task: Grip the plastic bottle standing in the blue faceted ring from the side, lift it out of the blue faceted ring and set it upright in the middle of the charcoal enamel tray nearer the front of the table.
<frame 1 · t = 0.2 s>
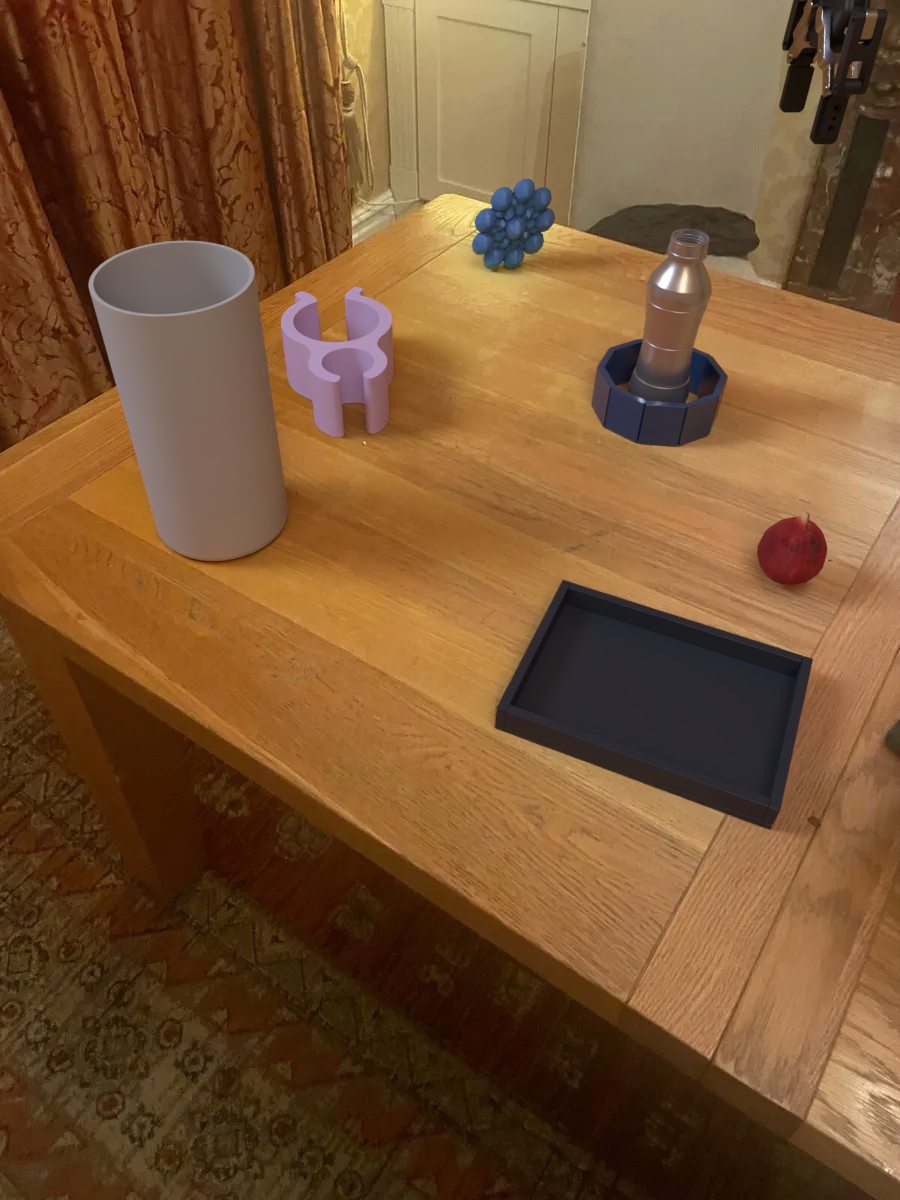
hand: (805, 126, 82), 30 cm above the table, tool pointing down, fingers open, 8 cm apart
cylinder vase: (224, 522, 88), on the table
blue faceted ring: (654, 409, 103), on the table
clip: (343, 387, 105), on the table
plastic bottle: (653, 411, 103), resting in blue faceted ring
tray: (653, 702, 74), on the table
onion: (779, 582, 84), on the table
grapes: (508, 266, 127), on the table
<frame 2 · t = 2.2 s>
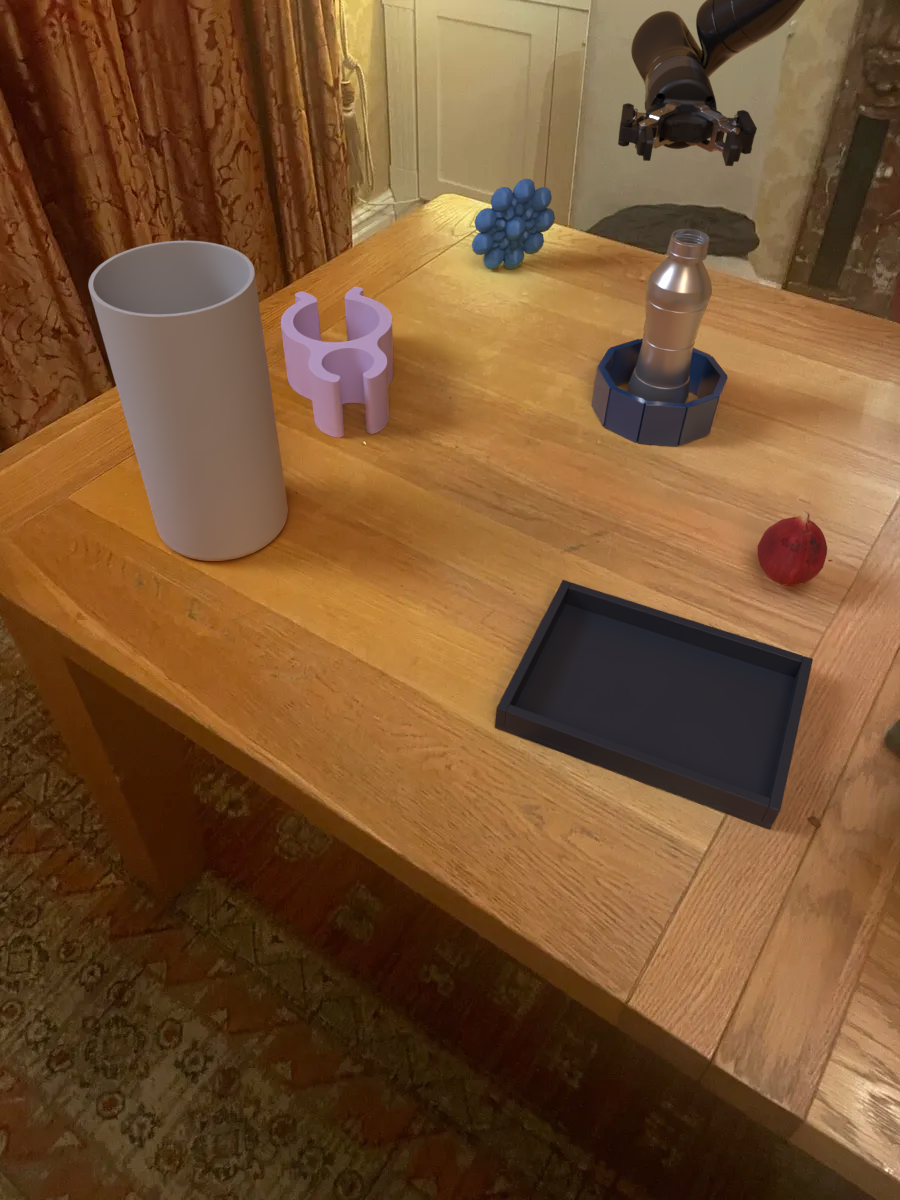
hand: (690, 153, 94), 24 cm above the table, tool horizontal, fingers open, 8 cm apart
nothing on the table moved.
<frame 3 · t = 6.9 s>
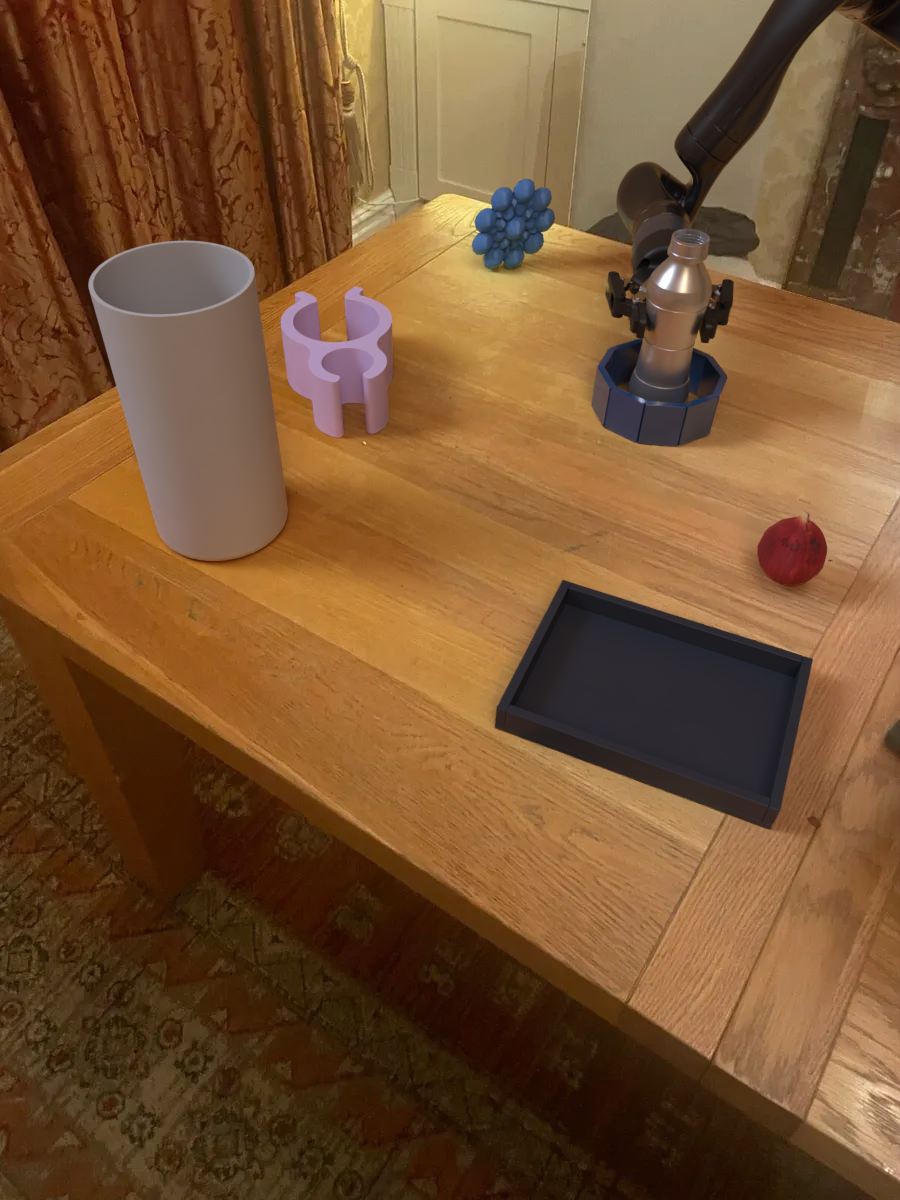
hand: (674, 332, 93), 11 cm above the table, tool horizontal, fingers closed on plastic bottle, 6 cm apart
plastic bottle: (653, 411, 103), resting in blue faceted ring, touching gripper
everything else where it was.
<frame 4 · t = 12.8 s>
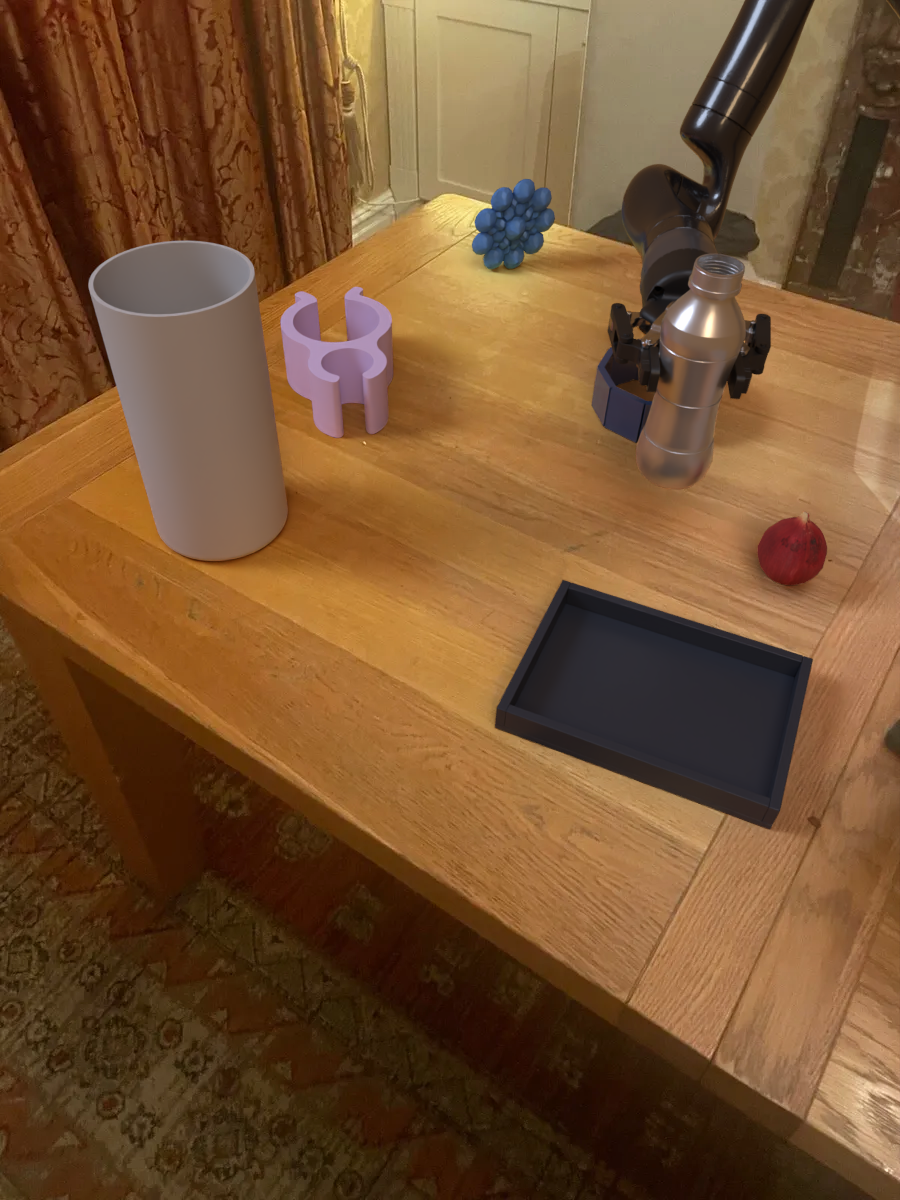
hand: (696, 385, 72), 19 cm above the table, tool horizontal, fingers closed on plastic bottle, 6 cm apart
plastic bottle: (667, 477, 82), point 7 cm above the table, touching gripper
everything else where it was.
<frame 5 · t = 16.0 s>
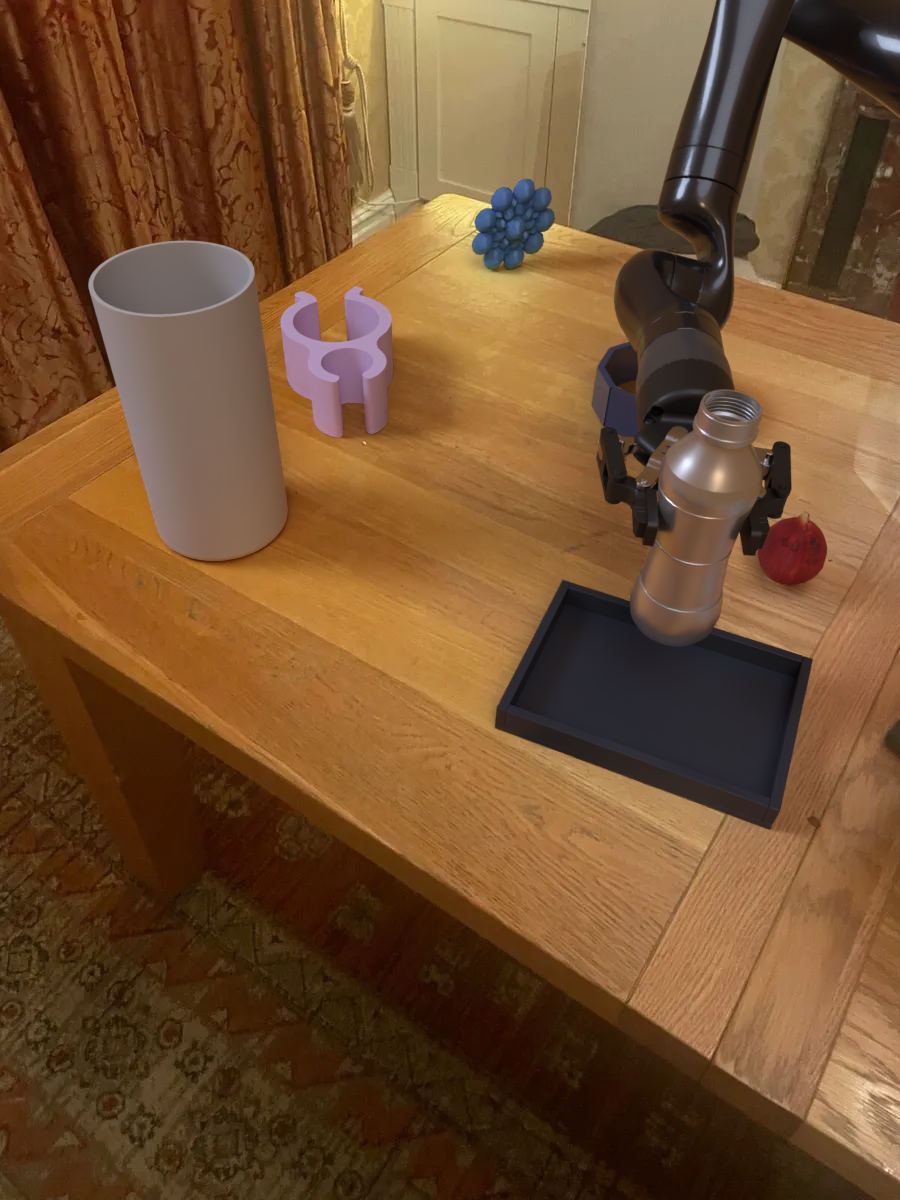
hand: (702, 541, 60), 18 cm above the table, tool horizontal, fingers closed on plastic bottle, 6 cm apart
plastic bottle: (667, 627, 70), point 7 cm above the table, touching gripper
everything else where it was.
when the fingers open (12 cm above the table, at t = 18.5 s): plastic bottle stays where it is, resting on tray.
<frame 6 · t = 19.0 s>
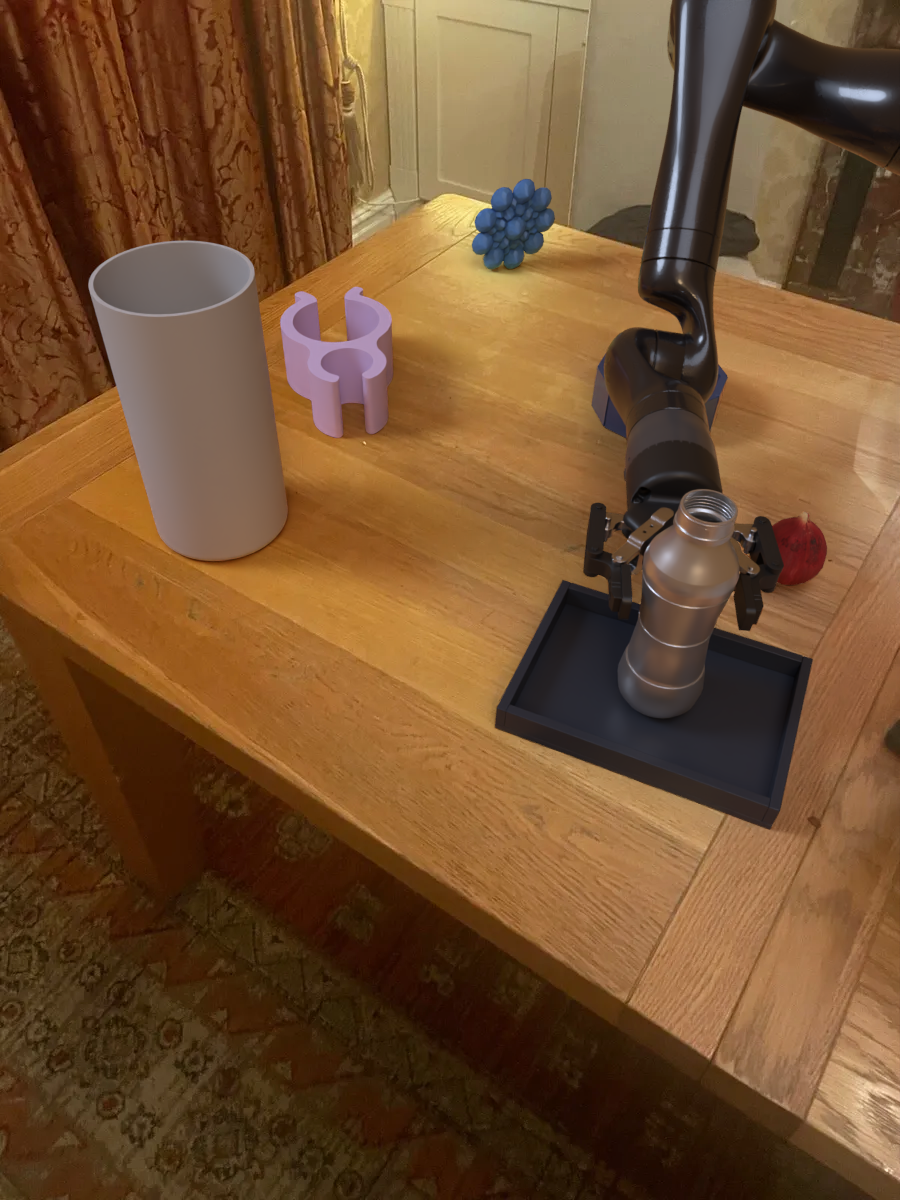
hand: (686, 617, 64), 12 cm above the table, tool horizontal, fingers open, 8 cm apart
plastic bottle: (653, 698, 73), resting on tray
everything else where it was.
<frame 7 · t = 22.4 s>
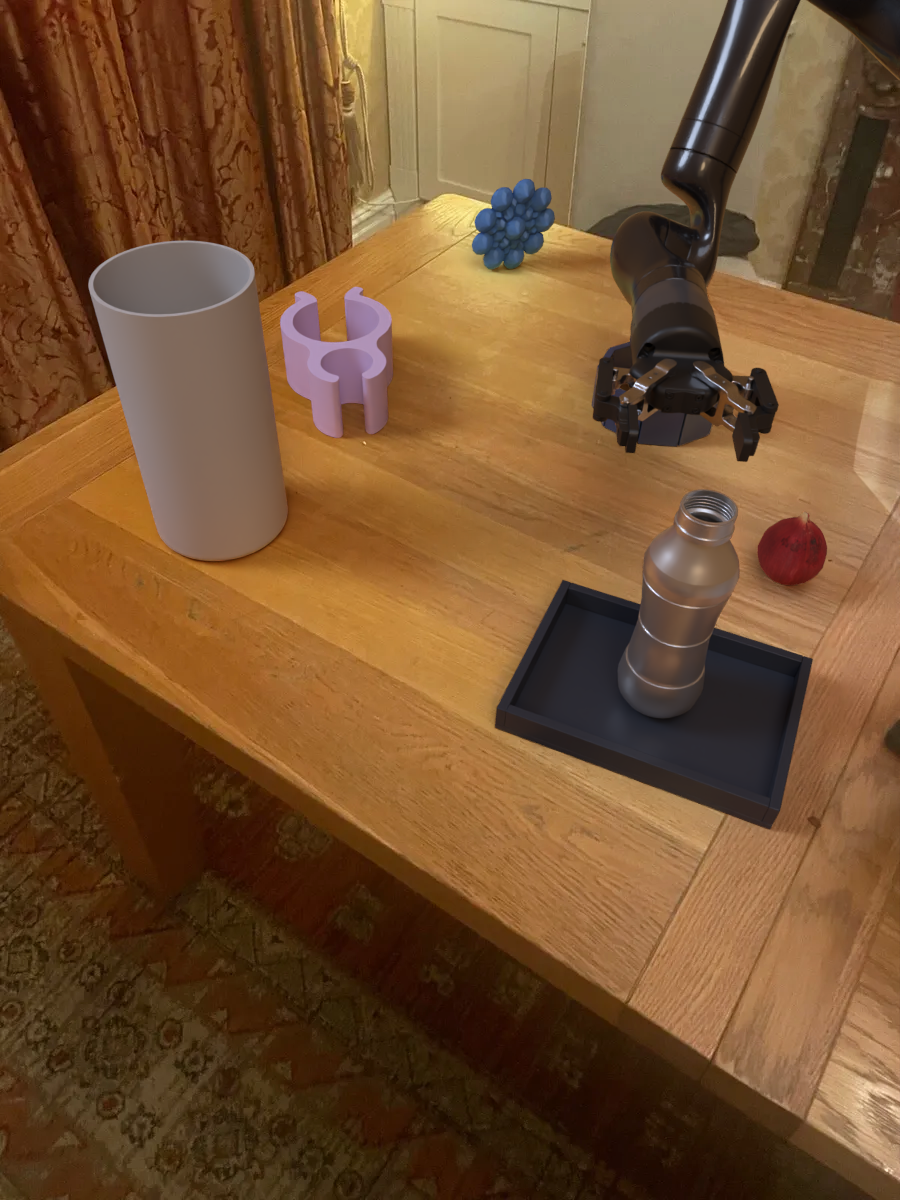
hand: (689, 448, 69), 17 cm above the table, tool horizontal, fingers open, 8 cm apart
nothing on the table moved.
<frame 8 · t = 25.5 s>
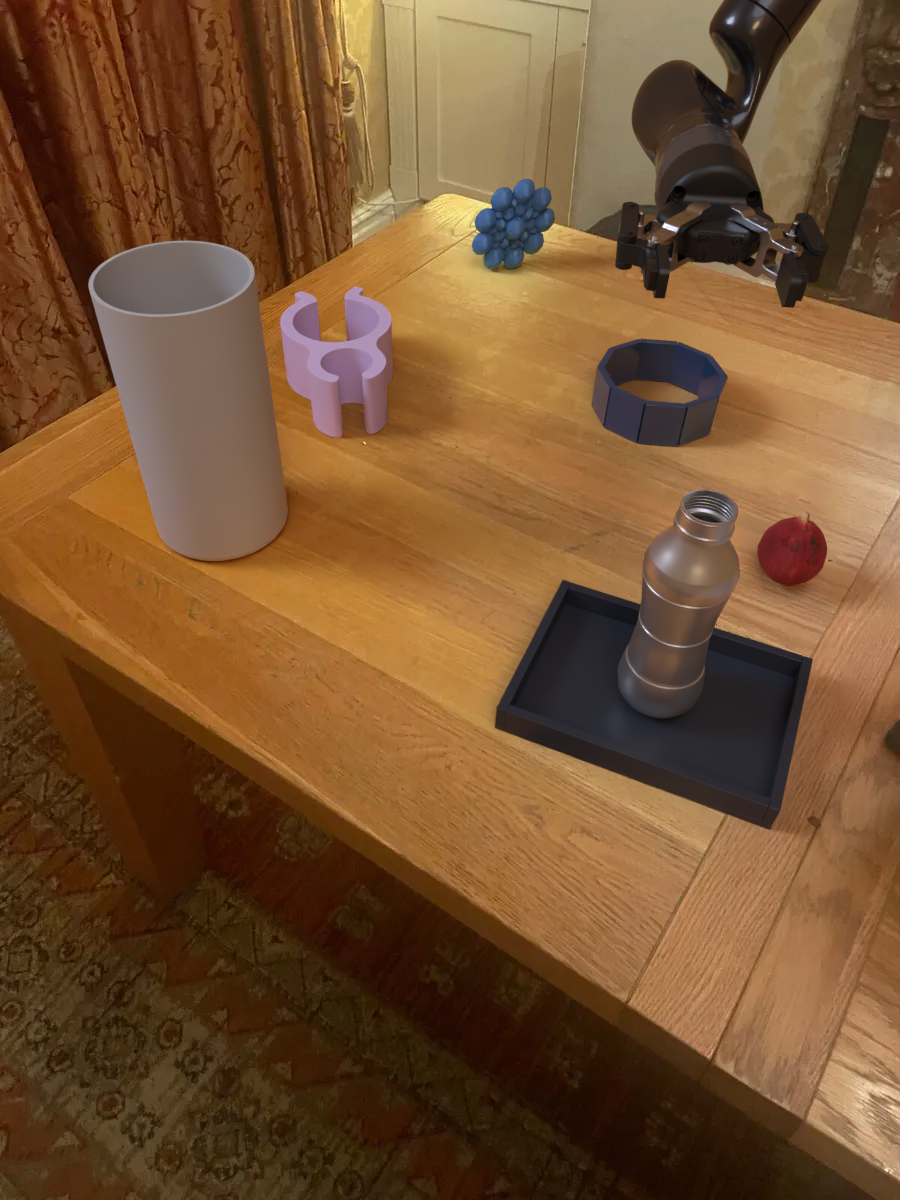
hand: (727, 290, 60), 30 cm above the table, tool horizontal, fingers open, 8 cm apart
nothing on the table moved.
at the end: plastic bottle inside the target area in the tray (0.1 cm from its centre), point 0.4 cm above the tray's base; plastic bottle tilted 0°; the gripper is holding nothing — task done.
